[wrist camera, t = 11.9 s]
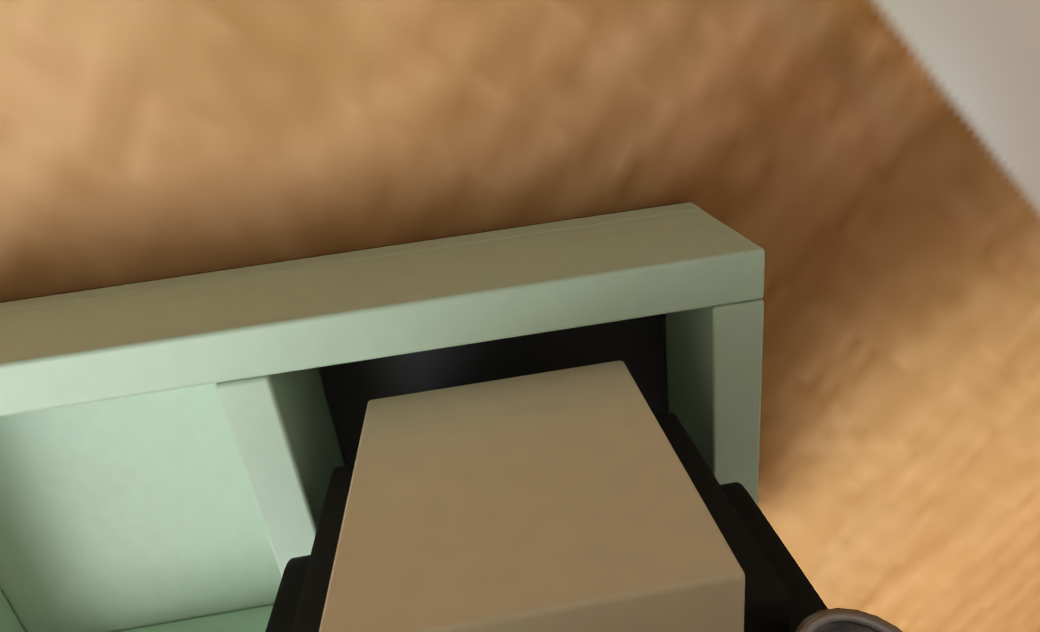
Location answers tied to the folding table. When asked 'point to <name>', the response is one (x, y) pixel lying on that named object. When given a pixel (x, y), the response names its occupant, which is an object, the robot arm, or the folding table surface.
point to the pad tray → (326, 396)
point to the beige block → (527, 516)
